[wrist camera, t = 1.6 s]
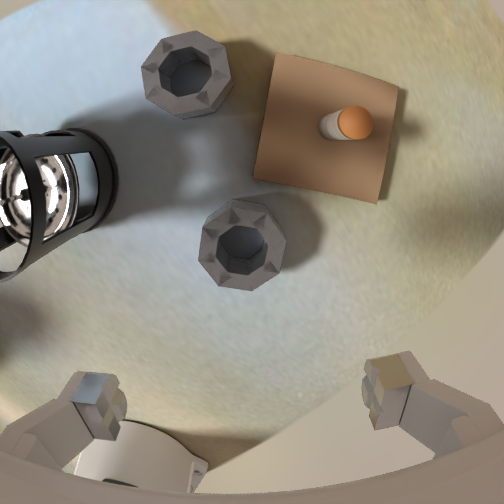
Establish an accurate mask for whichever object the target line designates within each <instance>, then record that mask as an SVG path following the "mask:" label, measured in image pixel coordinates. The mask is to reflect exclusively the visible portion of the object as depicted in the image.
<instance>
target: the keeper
mask: <svg viewBox="0 0 504 504" xmlns="http://www.w3.org/2000/svg"><path fill="white" fill-rule="evenodd" d="M397 94H398V86H395V85H393V84H390V83H387V82H384V81H381V80H379V79H376V78H373V77H370V76H367V75H364V74H360V73H357V72H354V71H351V70H347V69H344V68H340V67H337V66H333V65H329V64H326V63H322V62H318V61H314V60H310V59H305V58H301V57H297V56H292V55H287V54H282V53H276V56H275V60H274V65H273V70H272V75H271V81H270V86H269V91H268V97H267V102H266V107H265V113H264V118H263V124H262V129H261V134H260V140H259V145H258V151H257V156H256V162H255V167H254V173H253V179H257V180H263V181H268V182H274V183H279V184H285V185H290V186H295V187H300V188H305V189H310V190H315V191H320V192H325V193H329V194H334V195H339V196H343V197H348V198H352V199H357V200H361V201H365V202H369V203H374V204H377V201H378V196H379V192H380V188H381V183H382V179H383V174H384V169H385V164H386V159H387V154H388V149H389V144H390V138H391V132H392V127H393V121H394V114H395V108H396V101H397Z"/></svg>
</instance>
